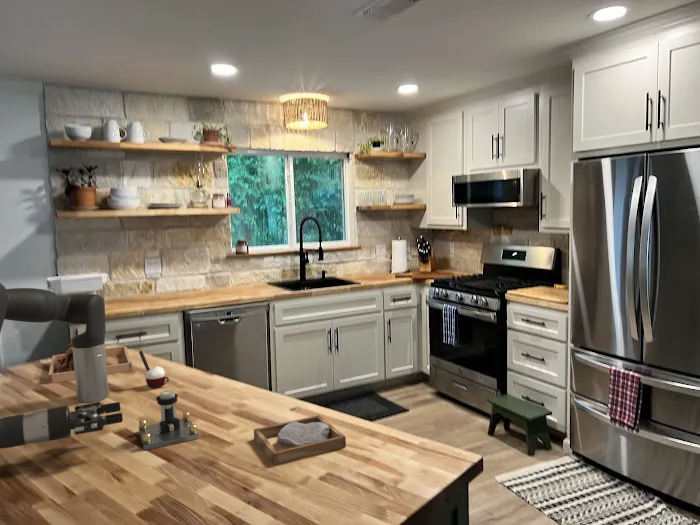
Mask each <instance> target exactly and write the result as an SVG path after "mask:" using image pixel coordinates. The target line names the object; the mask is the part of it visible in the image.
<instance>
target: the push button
mask: <svg viewBox="0 0 700 525" xmlns="http://www.w3.org/2000/svg"><path fill="white" fill-rule="evenodd" d="M178 398H179V394H178V393H175V391H174V390H164V391H161V392H160V393H159V395H157V396H156V399H155V400H156V402H157V404H158V405H159V406H160V415H161V419H160V421H159V422H158V423H159V427H158V428H155V430H156V429H159V431H156V432H154V433H158V432H162V433H166V432H169V431H173V430H175V429H179V428H180V421H179V419H180V418H178V417H177V415H176V403H177V402H178Z"/></svg>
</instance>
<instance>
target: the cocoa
mask: <svg viewBox="0 0 700 525" xmlns="http://www.w3.org/2000/svg"><path fill="white" fill-rule="evenodd" d="M138 354H139V356H140V358H141V361H142V364H143V366H144V368H145V370H146V372H145V374H144V377H145V383H146V385H147V387H148V388H150V389H159V388H162V387H163V386H166V385H167V383H169V381H170V379H169V377H168V376H166V372H165V369H164V368H163V367H161V366H158V365H157V366H153V367H151V369H150V366H149V364H148V361H147V359H146V356H145V355H144V352H143V351H142V350H139V351H138ZM165 381H166V382H165Z"/></svg>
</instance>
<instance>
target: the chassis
mask: <svg viewBox="0 0 700 525" xmlns="http://www.w3.org/2000/svg"><path fill="white" fill-rule="evenodd" d="M190 413H191V412H190V411H184V412H182V418H178V419H179V421H180V428H179V429H175V430H173V431H169V432H166V433H162V432H158V433H154V432H156V431H159V429H156V430H155V428H158V427H159V422H158V423H151V424H148V425H147V420H146V419H141V420H139V421H138V432H139V435H140V436H139V437H140V440H141V443H142V447H143V450H144V451H147V450H151V449H152V450H153V449H158V448H162V447H165V446H170V445H175V444H180V443H186V442H189V441H194V440H198V439H199V433H198V427H197V423H193V422H192V420H191V415H190Z"/></svg>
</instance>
